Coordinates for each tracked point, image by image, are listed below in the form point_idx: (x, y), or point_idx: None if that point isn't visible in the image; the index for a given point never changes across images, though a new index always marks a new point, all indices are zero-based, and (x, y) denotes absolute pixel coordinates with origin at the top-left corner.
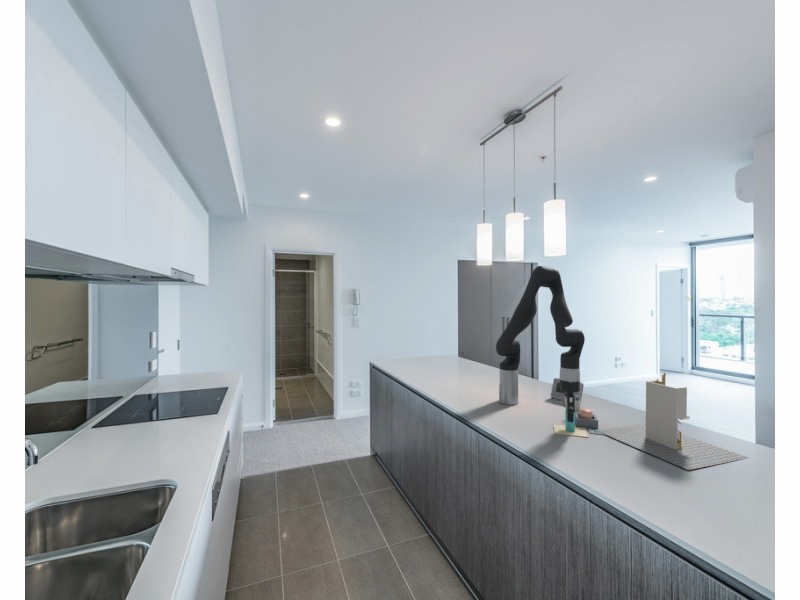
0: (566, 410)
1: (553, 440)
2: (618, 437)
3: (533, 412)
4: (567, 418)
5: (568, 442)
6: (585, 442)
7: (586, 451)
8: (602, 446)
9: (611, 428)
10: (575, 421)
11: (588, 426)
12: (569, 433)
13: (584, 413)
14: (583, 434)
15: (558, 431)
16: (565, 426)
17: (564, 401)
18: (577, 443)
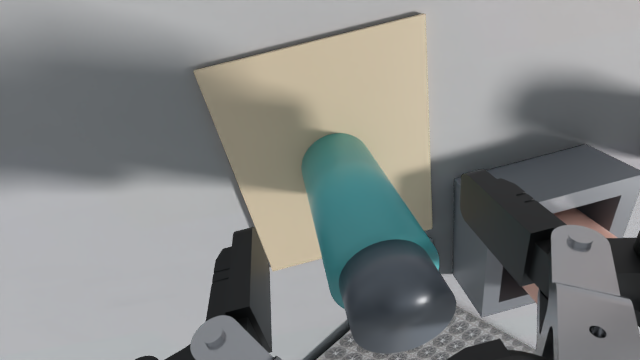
0: (368, 259)
1: (13, 94)
2: (348, 357)
3: None
4: (233, 251)
5: (83, 197)
6: (177, 271)
7: (24, 302)
8: (183, 334)
9: (470, 317)
10: (543, 160)
11: (457, 242)
12: (265, 173)
13: None
14: (300, 244)
15: (256, 93)
16: (334, 146)
17: (555, 292)
18: (117, 243)
